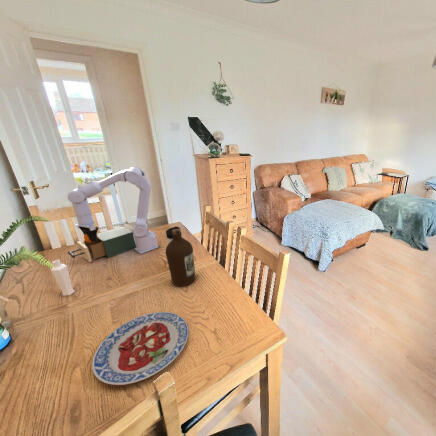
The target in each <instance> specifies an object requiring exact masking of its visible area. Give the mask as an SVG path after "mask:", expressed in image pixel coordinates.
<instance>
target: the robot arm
mask: <svg viewBox="0 0 436 436" xmlns="http://www.w3.org/2000/svg"><path fill="white" fill-rule="evenodd" d="M118 182H122V183H126V182H128V183H129V184H132V185H134V186H135V187H137V188H138V189H139V194H138V204H137V211H136V219H135V222H134V226H133V229H132V232H133V235H134V239H135V244H136V248H134V249H133V250H134V251H136V252H138V253H139V254H140V255H141V254H142V255H143V254H144V253H148V252H150V251H153V250H155V249H158V248H159V243H158V239H157V234H155V232H154V231H153V230H150V231H149V229H148V228H149V223H148V213H149V207H150V198H151V189H152V184H151V183H150V181H149V179H148V177H147V175H146V173H145V171H143V170H142V169H141V168H140V167H138V166H131V167H129V168H126V169H123V170H120V171H118V172H116V173H114V174H112V175H109V176H108V177H106V178H104V179H102V180H100V181H97V180H89V181H88V182H86V184H84V185H82V186H80V185H78V186H77V187H76V188H74V189H73V190H71V191H70V192H69V193H68V194H67V200H68V201H69V202H70V203H71V205H72V208H73V211H74V215H75V218H76V220H77V223H76V224H75V227H77V228H78V229H79V230H80V231H81V232H82V233H83V235H84V236H85V234H87V236H88V237H89V239H90V241H91V242H94V241H97V234H98V231H99V226H95V223H96V222H95V220H94V217H93V214H92V210H91V208H90V204H89V201H88V199H89V198H92V197H94V196H96V195H98V194H100V193H102V192H104V188H107V187H108V186H111V185H114V184H115V183H118Z"/></svg>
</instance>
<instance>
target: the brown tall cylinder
mask: <svg viewBox="0 0 436 436" xmlns="http://www.w3.org/2000/svg"><path fill="white" fill-rule="evenodd" d="M174 229H180V230H181V228H180V227H179V226H174V227H170V228H168V229H166V230H165V235H166V242H167V245H168V244H169V243H170V242H171V241H172V239H173V236H172V230H174ZM180 232H181V233H182V231H180Z"/></svg>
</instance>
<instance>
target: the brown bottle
mask: <svg viewBox="0 0 436 436" xmlns="http://www.w3.org/2000/svg"><path fill="white" fill-rule="evenodd" d="M180 231H181V228H180V229H174V230H172V236H173V239H172V241H171V242H170V243H169V244H168V243H167V245H166V247H165V257H166V260H167V261H166V262H167V265H168V268H169V273H170V277H171V282H172V285H173V286H175V287H179V288H181V287H186V286H189V285H191V284H192V283H194V282H195V280H196V272H195V271H196V266H195V258H194V248H193V245H192V243H191V242H190V241H189V240H187V239H185V238H184V237H183V235H182V231H181V232H180Z"/></svg>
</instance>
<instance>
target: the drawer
mask: <svg viewBox="0 0 436 436" xmlns="http://www.w3.org/2000/svg"><path fill="white" fill-rule="evenodd" d="M76 243H77V247H78V249H75V250H72V251H71V250H68V251H67V254H68V256H70V258H72V259H75V258H76V257H78V256H82V258H84V259H85V260H86V261H87V262H88V263H91V262H93V260H92V258H93V259H94V260H96V259H99V258H102V257H106V256H105V255H107V254H106V251H105V248H104V244H103V242H102V241H101V240H99V239H98V238H97V241H95V242H92V243H89V242H86V241H85V240H84V239H83V242H82V241H81V240H77V241H76ZM76 252H80V253H76ZM75 253H76V254H75Z"/></svg>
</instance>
